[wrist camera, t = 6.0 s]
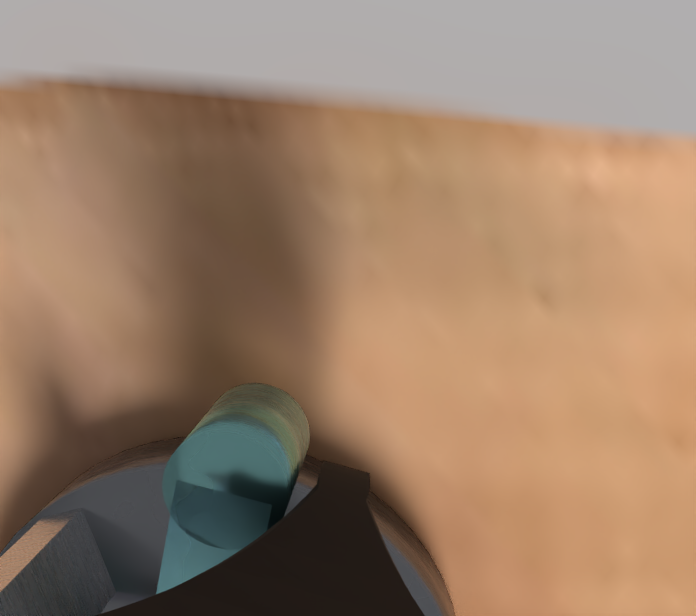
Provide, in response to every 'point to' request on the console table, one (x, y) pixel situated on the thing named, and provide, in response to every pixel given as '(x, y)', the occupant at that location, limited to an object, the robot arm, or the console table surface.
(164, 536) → the post plate
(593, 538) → the console table surface
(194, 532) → the teal ball-top lever
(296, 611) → the robot arm
